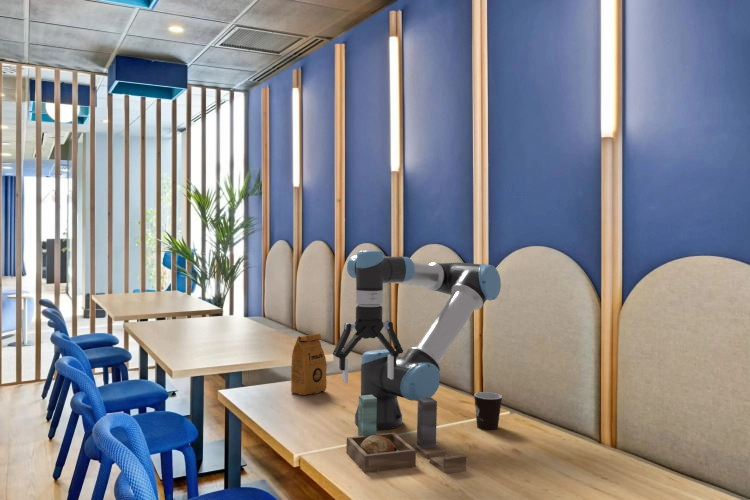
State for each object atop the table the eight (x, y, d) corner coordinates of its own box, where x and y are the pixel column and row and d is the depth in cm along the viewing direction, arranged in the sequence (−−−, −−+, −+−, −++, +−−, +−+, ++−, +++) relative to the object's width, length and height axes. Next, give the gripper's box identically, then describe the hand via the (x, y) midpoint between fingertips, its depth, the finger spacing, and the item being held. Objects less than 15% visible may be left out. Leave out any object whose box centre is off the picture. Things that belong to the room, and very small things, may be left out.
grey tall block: (413, 448, 172) (414, 398, 172) (432, 446, 174) (433, 397, 174) (425, 458, 165) (426, 406, 164) (445, 455, 167) (446, 404, 166)
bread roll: (361, 465, 167) (350, 439, 167) (395, 448, 169) (384, 422, 168) (368, 480, 158) (356, 452, 157) (403, 462, 159) (392, 434, 159)
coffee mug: (501, 432, 188) (502, 400, 187) (472, 430, 189) (473, 398, 189) (501, 421, 199) (502, 390, 199) (474, 419, 201) (475, 389, 200)
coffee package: (330, 392, 231) (331, 334, 230) (303, 398, 222) (304, 337, 222) (313, 387, 238) (314, 331, 238) (287, 392, 230) (288, 334, 229)
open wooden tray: (340, 446, 172) (341, 397, 172) (387, 441, 177) (388, 393, 177) (364, 472, 154) (365, 417, 153) (415, 466, 158) (416, 412, 158)
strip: (429, 462, 161) (430, 449, 161) (449, 459, 164) (449, 446, 164) (445, 473, 154) (446, 459, 154) (465, 470, 157) (466, 456, 157)
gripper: (330, 307, 165) (329, 386, 165) (415, 305, 173) (413, 379, 174) (322, 304, 172) (321, 379, 172) (404, 302, 180) (403, 374, 181)
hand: (368, 380), depth 173 cm, fingers open, 13 cm apart
